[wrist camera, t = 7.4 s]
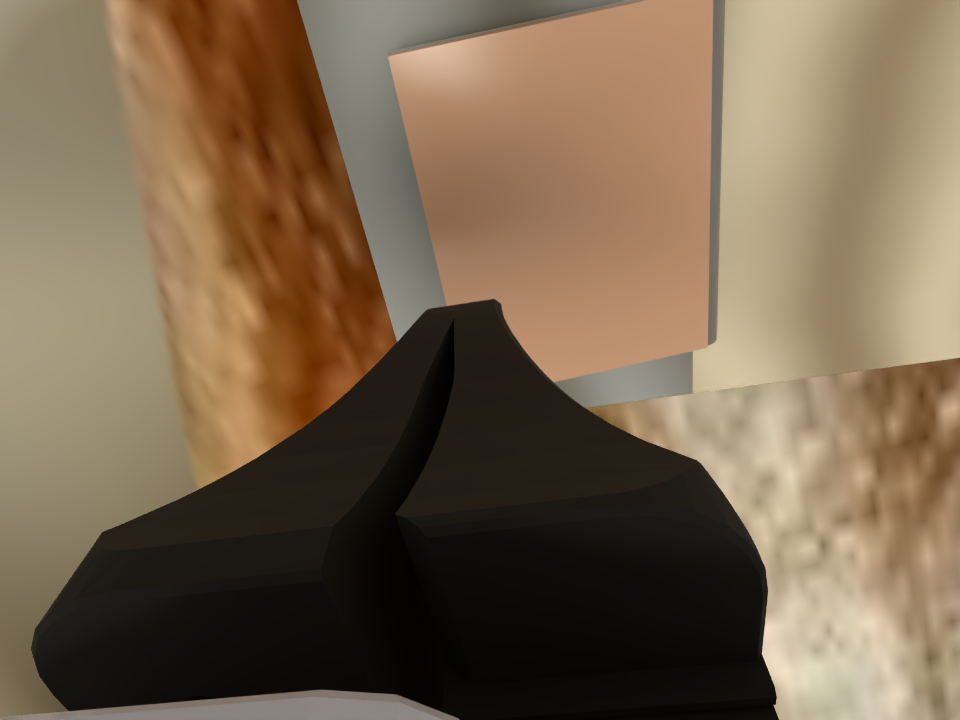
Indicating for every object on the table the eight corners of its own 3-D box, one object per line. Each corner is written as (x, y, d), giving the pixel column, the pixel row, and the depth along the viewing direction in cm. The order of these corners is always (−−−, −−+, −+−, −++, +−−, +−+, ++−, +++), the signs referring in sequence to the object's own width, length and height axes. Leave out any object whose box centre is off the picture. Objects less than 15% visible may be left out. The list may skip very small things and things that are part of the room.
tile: (387, 56, 13) (388, 51, 14) (469, 401, 18) (464, 378, 19) (736, -19, 13) (711, -18, 14) (724, 343, 18) (706, 324, 19)
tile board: (1163, -254, 13) (1235, -279, 12) (992, 325, 20) (1025, 348, 19) (297, -57, 15) (279, -59, 14) (426, 403, 22) (422, 429, 21)
